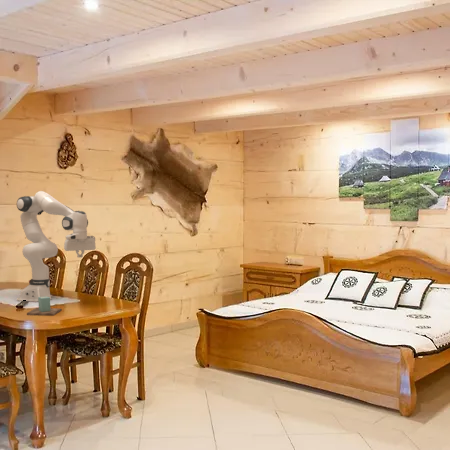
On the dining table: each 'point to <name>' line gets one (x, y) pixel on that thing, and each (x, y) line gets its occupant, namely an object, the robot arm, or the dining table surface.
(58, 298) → the dining table surface
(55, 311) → the board
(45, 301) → the teal rounded block
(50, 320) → the dining table surface
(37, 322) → the dining table surface
